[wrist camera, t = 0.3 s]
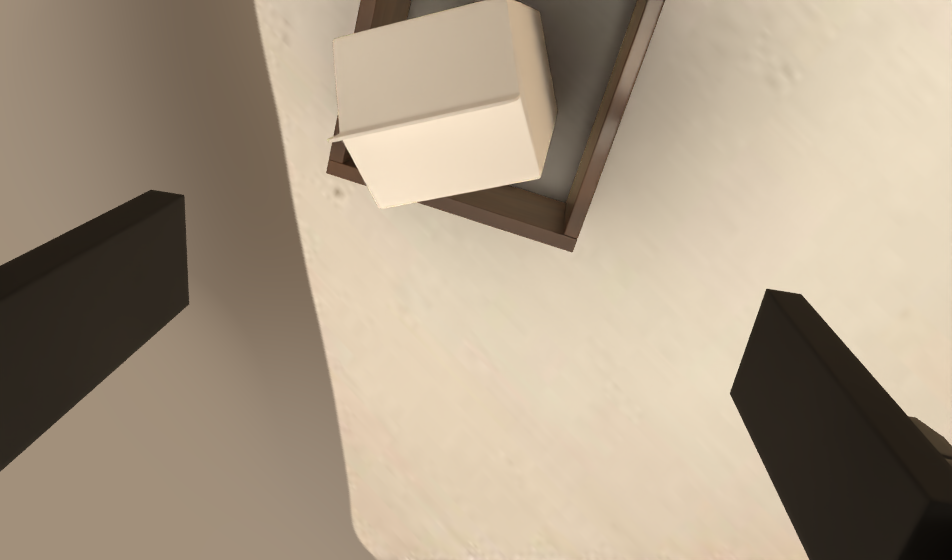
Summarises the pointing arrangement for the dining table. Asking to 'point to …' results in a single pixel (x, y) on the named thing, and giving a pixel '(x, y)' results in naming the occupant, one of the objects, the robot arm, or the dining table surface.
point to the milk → (446, 101)
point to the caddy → (510, 204)
